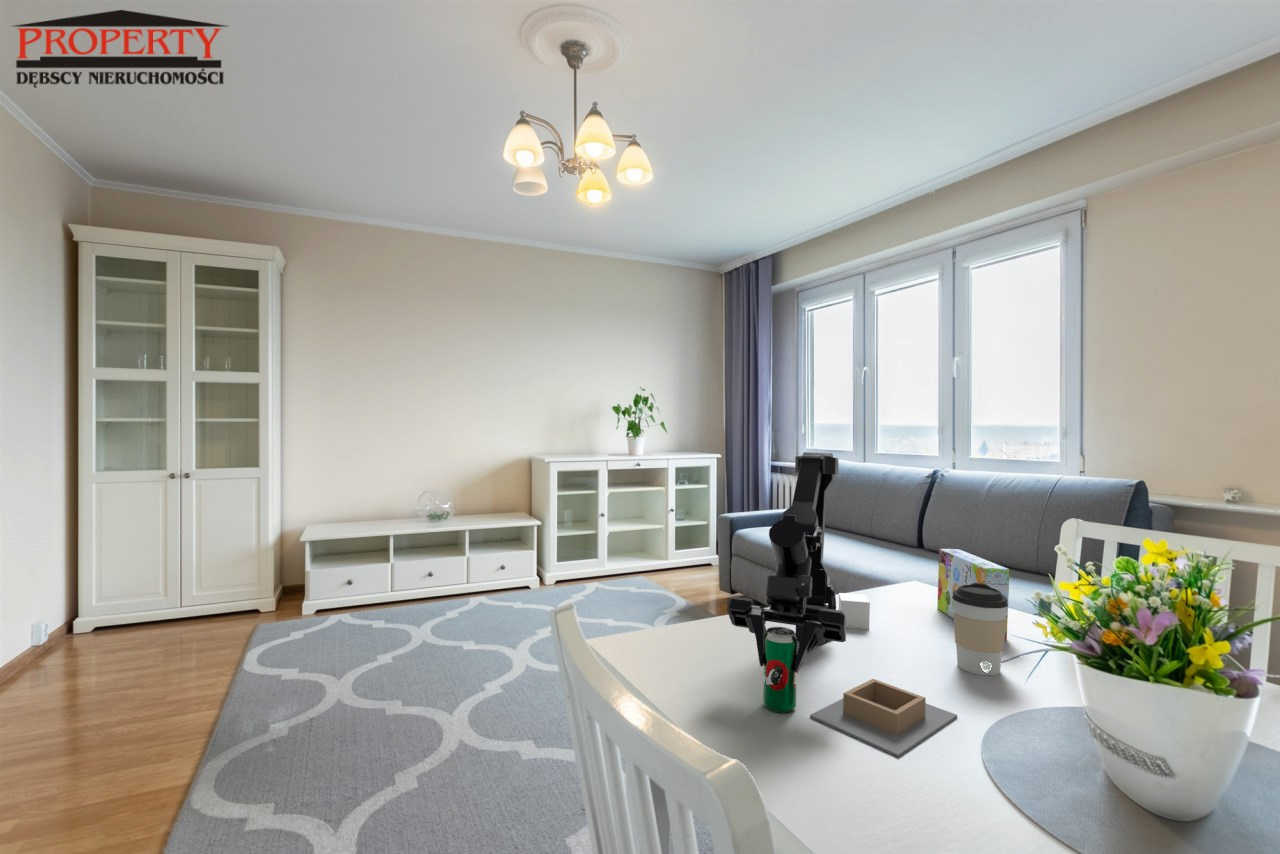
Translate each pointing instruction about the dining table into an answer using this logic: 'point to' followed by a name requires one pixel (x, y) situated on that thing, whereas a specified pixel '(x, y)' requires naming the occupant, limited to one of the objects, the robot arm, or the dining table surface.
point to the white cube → (855, 610)
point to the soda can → (780, 669)
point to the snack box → (967, 577)
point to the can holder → (884, 717)
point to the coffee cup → (979, 627)
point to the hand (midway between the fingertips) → (778, 668)
